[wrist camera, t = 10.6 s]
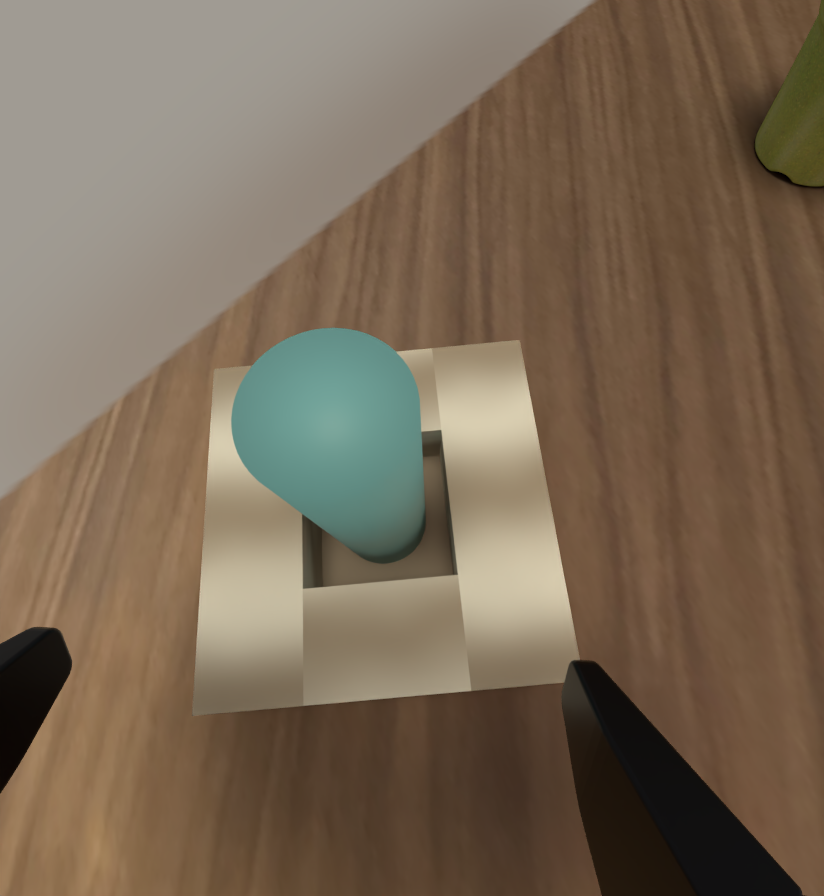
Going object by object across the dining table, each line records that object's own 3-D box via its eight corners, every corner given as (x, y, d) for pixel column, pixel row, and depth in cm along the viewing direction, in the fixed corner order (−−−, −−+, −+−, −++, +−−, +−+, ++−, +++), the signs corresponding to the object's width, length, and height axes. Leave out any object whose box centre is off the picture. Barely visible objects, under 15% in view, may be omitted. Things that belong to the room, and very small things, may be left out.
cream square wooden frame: (554, 666, 20) (583, 680, 16) (236, 695, 20) (191, 715, 16) (505, 380, 25) (519, 340, 21) (246, 405, 25) (214, 369, 21)
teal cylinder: (441, 537, 22) (455, 443, 9) (365, 579, 21) (274, 539, 9) (401, 466, 23) (367, 300, 11) (328, 504, 22) (204, 377, 10)
